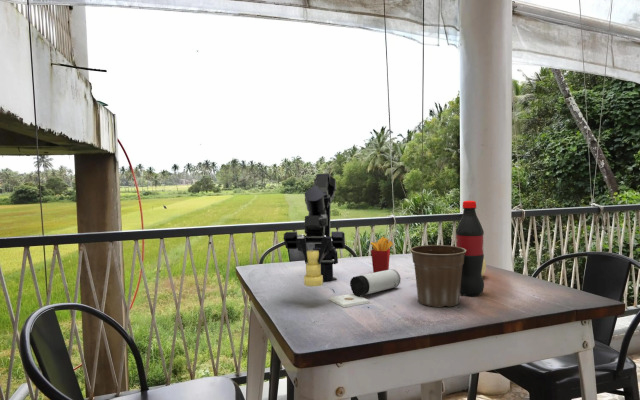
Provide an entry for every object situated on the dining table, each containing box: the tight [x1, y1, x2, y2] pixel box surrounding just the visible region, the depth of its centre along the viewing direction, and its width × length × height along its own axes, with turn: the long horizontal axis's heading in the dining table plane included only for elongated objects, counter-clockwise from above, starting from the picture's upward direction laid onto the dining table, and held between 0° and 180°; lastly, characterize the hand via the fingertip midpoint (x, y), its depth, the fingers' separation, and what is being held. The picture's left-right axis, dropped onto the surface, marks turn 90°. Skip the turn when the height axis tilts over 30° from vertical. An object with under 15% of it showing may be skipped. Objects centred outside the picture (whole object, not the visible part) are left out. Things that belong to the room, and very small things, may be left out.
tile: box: [328, 293, 370, 308], centre depth 129 cm, size 9×9×1 cm
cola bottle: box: [455, 200, 485, 297], centre depth 134 cm, size 8×8×30 cm
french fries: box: [370, 236, 394, 273], centre depth 166 cm, size 9×8×15 cm
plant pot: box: [410, 244, 466, 308], centre depth 126 cm, size 16×16×16 cm
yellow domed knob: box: [303, 249, 324, 287], centre depth 126 cm, size 6×6×10 cm
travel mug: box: [349, 268, 401, 297], centre depth 138 cm, size 6×7×20 cm
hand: (312, 263), depth 124 cm, fingers closed on yellow domed knob, 4 cm apart
